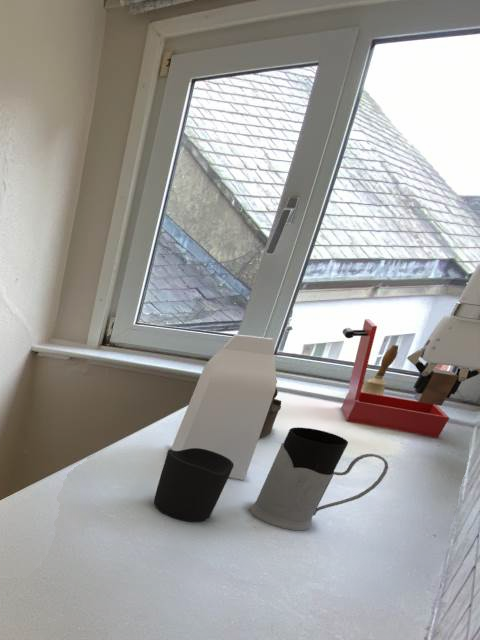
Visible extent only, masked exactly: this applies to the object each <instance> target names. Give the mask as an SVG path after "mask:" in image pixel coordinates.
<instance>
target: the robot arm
mask: <svg viewBox="0 0 480 640" xmlns="http://www.w3.org/2000/svg"><path fill="white" fill-rule="evenodd" d="M420 358H421V359H422V360H423V361H425V364H424V363H423V362H422V361H421V360H420ZM406 359H407V361H409V363H411V364H412V365H414V367H415V368H416V370H417V371H418V372H419V373H420V374H419V376H418V377H417V380H416V381H415V383H414V385H413V389H415V390H414V391H415V393H416V392H417V393H422V392H423V390H424V388H425V386H426V384H427V382H428V381H429V379H430V377H429V375H430V372H431V371H432V370H433V369H436V367H437V366H438V365H442V366H451V367H457V369H456V372H455V374H457V375H458V378H457V380H456V382H455V383H454V385H453V387H452V389H451V390H450V392H449V394H448V395H447V397H446V399H450V397H451V395H455V394H456V392H457V391H458V389H459V387H460V386H461V384H462V382H465V381H467V380H468V379H471V378H474V377H477V376H478V375H480V261H479V262H478V264H477V265H476V267H475V269H474V271H473V272H472V274H471V276H470V278H469V280H468V282H467V283H466V285H465V287H464V288H463V291H462V292H461V294H460V296H459V298H458V300H457V302H456V304H455V306H454V308H453V309H452V311H451V313H450V315H444V316H443V317H442V318H441V319H440V321H439V322H438V323H437V324H436V326H435V327H434V329H433V330H432V332H431V333H430V335H429V336H428V337H427V339H426V341H425V342H424V344H423V346H422V347H421V348H420V349H418V350H416V351H415V352H413V353H412V354H410V355H408V356H407V357H406Z"/></svg>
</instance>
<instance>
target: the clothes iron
mask: <svg viewBox="0 0 480 640" xmlns="http://www.w3.org/2000/svg"><path fill="white" fill-rule="evenodd" d="M277 383H278V380H277V379H276V384H277ZM278 392H279V391H278V389H277V387H276V390H275V393H274V396H273V399H272V402H271V405H270V408H269V410H268V413H267V416H266V419H265V422H264V425H263V428H262V431H261V433H260V436H259V439H260V438H264V437H267V436H269V435H270V434H271V432H272V431H273V426H274V424H275V421H276V419H277V416H278V413H279V412H280V411H281V409H282V400H280V399H278V398H277V396H278V394H279V393H278ZM276 398H277V399H276Z"/></svg>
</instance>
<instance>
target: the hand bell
mask: <svg viewBox="0 0 480 640" xmlns="http://www.w3.org/2000/svg"><path fill="white" fill-rule="evenodd" d="M398 351H399V345H396V344H392V346H390V348H388V350H386V352H385V353H384V354H383V357H382V359H381V364H380V367H379V369H378V371H377V372H376V374H375V376H374V377H373V378H369V379H368V378H367V379H366V380H365V381H364V382H363V385H362V389H361V392H365V393H371V394H377V395H383V396H385V390H386V389H385V388H386V386H387V383H386V381H384V380H383V378H384V377H385V374H386V372H387V370H388V369H389V367H390V366H391V365H392V364H393V362H394V361H395V360H396V358H397V356H398Z"/></svg>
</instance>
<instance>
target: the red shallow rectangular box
mask: <svg viewBox="0 0 480 640" xmlns="http://www.w3.org/2000/svg"><path fill="white" fill-rule="evenodd" d="M348 390H349V389H348ZM340 409H341V412H342V414H343V416H344V418H345V421H346V422H350V423H354V424H361V425H366V426H371V427H377V428H382V429H386V430H393V431H398V432H404V433H409V434H415V435H420V436H425V437H430V438H436V439H439V437H440V436H441V433H442V432H443V430H444V428H445V427H446V425H447V423H448V421H449V419H450V416H448V414H446V412H445V411H443V409H442V408H440V406H439V405H434V404H428V403H422V402H418V401H417V400H414V399H407V398H400V397H395V396H391V395H390V396H388V395H384V396H383V395H377V394H371V393H365V392H361V393H360V397H359V400H355V399H354V397H353V396H352V394H351V392H350V390H349V391H348V392H347V394H346V396H345V399H344V400H343V403H342V404H341V407H340Z"/></svg>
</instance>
